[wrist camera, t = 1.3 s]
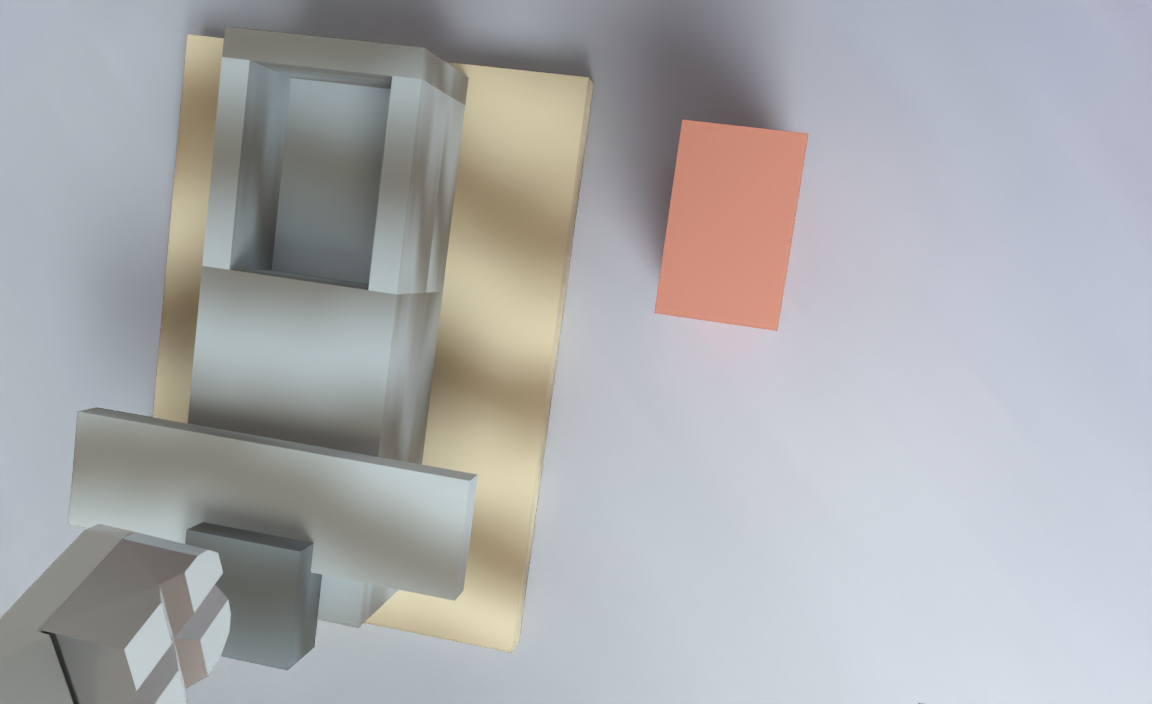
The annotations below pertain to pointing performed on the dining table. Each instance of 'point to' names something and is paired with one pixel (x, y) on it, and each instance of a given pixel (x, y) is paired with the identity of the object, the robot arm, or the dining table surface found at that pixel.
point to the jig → (352, 338)
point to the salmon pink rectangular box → (730, 223)
